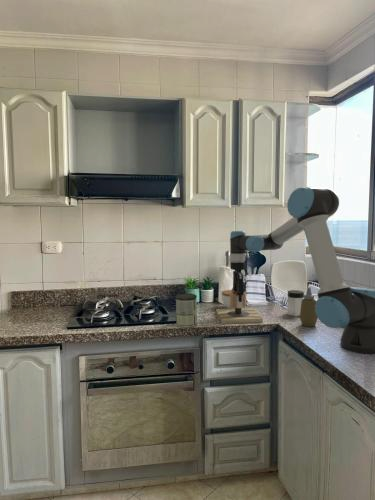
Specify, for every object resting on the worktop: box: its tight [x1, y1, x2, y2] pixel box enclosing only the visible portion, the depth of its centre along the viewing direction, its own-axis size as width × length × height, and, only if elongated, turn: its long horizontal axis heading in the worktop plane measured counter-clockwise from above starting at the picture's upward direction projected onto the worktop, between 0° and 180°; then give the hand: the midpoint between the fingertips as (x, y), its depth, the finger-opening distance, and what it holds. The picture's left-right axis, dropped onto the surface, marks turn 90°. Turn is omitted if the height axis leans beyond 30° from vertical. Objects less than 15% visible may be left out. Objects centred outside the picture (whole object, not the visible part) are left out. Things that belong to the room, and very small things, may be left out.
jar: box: [287, 289, 305, 317], centre depth 189 cm, size 9×8×12 cm
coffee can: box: [174, 293, 198, 328], centre depth 174 cm, size 10×10×14 cm
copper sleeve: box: [230, 291, 247, 309], centre depth 184 cm, size 8×8×7 cm
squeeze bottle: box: [299, 286, 319, 328], centre depth 169 cm, size 8×8×18 cm
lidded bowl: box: [221, 287, 235, 309], centre depth 205 cm, size 13×13×11 cm
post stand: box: [215, 308, 264, 325], centre depth 184 cm, size 20×20×11 cm
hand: (238, 305), depth 184 cm, fingers closed on copper sleeve, 8 cm apart
